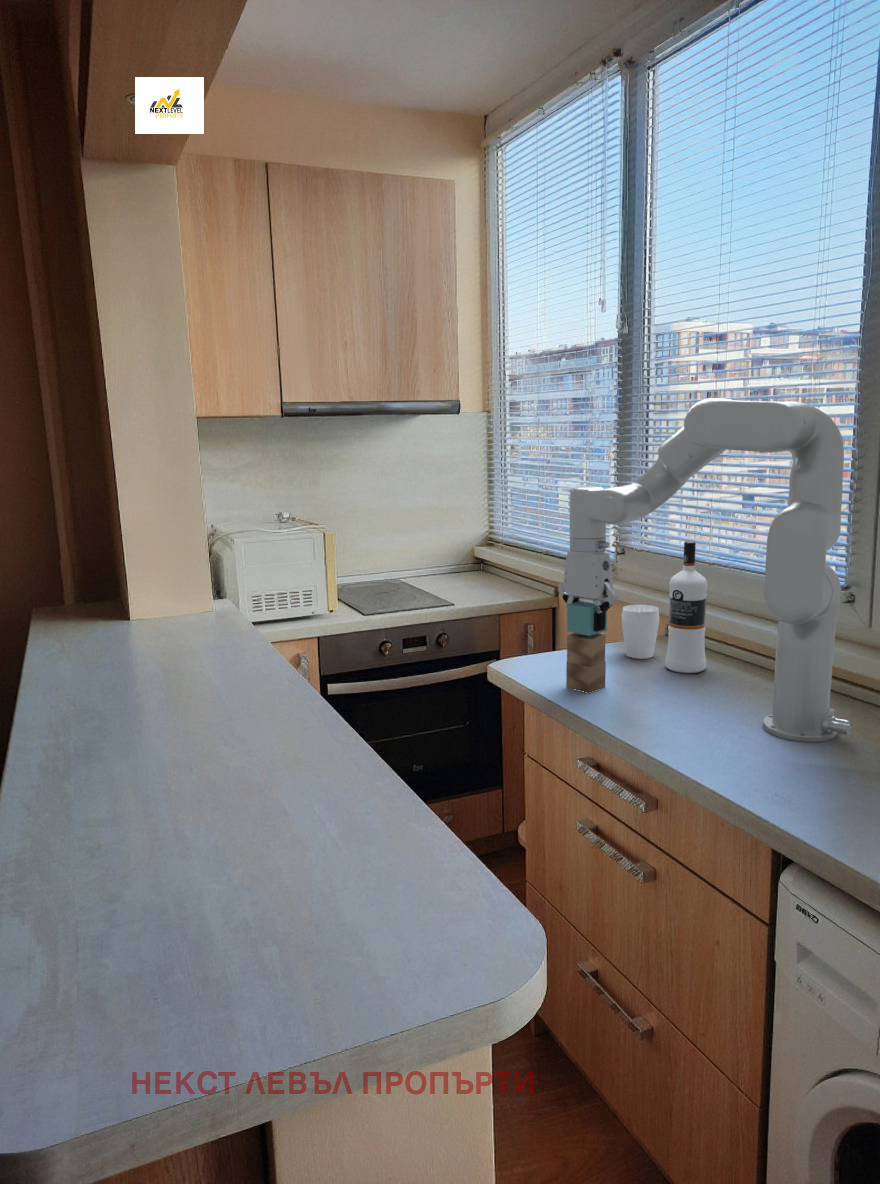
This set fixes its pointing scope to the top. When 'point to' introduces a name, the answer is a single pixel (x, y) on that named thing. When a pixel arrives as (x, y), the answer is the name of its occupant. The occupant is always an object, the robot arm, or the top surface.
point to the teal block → (582, 618)
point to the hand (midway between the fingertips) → (586, 627)
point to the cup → (640, 630)
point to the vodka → (687, 617)
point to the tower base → (585, 676)
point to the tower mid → (586, 649)
